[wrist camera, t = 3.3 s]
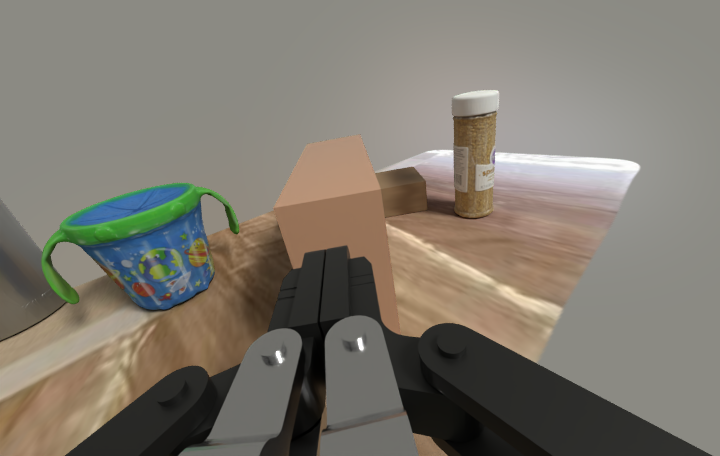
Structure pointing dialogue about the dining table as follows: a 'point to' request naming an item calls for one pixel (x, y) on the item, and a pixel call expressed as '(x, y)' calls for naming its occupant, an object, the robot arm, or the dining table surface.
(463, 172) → the sprinkles bottle
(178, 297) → the snack cup
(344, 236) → the block
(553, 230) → the dining table surface
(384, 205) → the brown wooden bar
